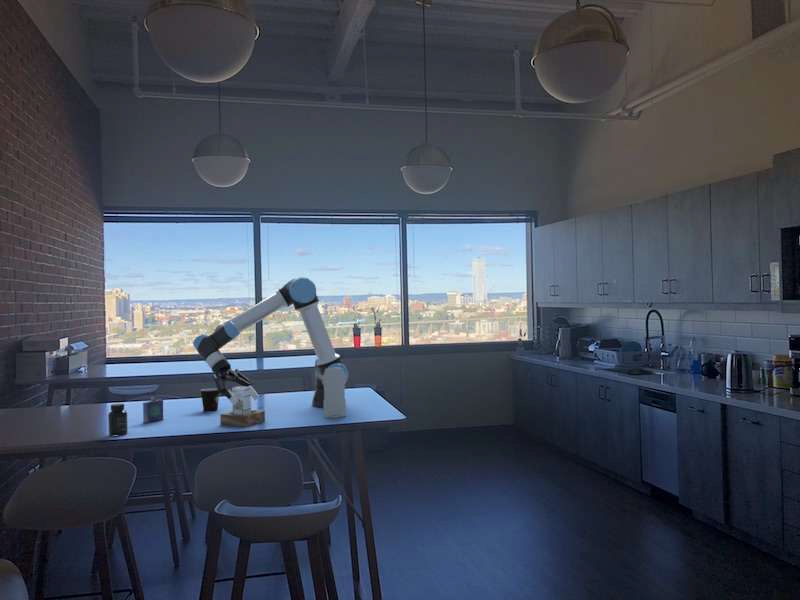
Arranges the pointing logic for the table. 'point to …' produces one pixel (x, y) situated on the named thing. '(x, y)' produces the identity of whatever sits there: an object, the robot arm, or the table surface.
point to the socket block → (242, 418)
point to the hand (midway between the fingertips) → (246, 400)
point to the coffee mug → (210, 399)
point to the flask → (153, 410)
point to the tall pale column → (334, 393)
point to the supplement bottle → (117, 420)
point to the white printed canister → (242, 400)
